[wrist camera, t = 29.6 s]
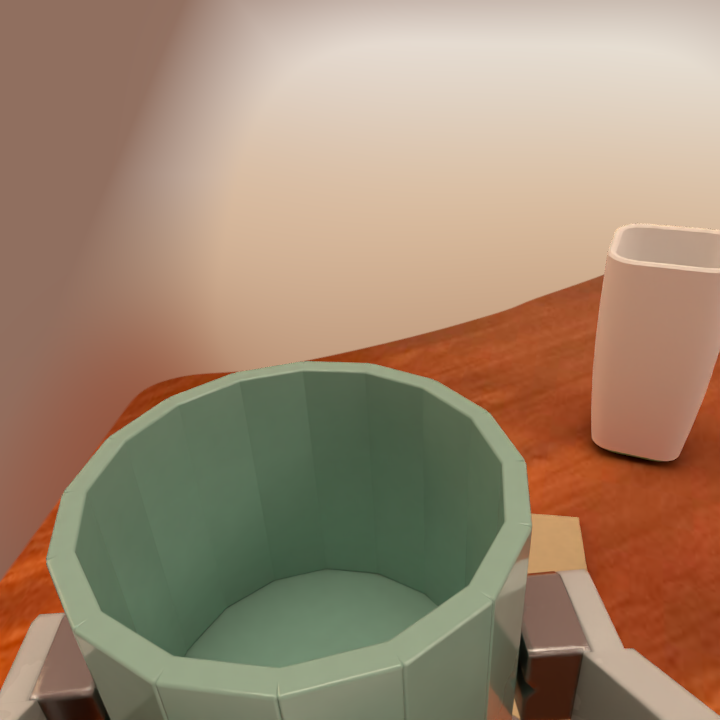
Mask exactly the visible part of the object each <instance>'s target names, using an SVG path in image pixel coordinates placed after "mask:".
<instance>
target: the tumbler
mask: <svg viewBox="0 0 720 720" xmlns="http://www.w3.org/2000/svg"><path fill="white" fill-rule="evenodd" d="M531 535H532V516H531V506H530V496H529V486H528V476H527V466H526V463H525V460H524V458H523V457H522V456H521V454H520V453H519V452H518V450H517V449H516V448H515V446H514V445H513V444H512V442H511V441H510V440H509V438H508V437H507V435H506V434H505V433H504V431H503V430H502V429H501V427H500V426H499V425H498V423H497V422H496V421H495V419H494V418H493V417H492V415H491V414H490V413H488V411H487V410H485V409H483V408H482V407H480V406H478V405H477V404H475V403H473V402H472V401H470V400H468V399H466V398H465V397H463V396H461V395H460V394H458V393H456V392H455V391H453V390H451V389H450V388H448V387H446V386H445V385H443V384H441V383H440V382H438V381H434V380H433V379H430V378H426V377H422V376H419V375H415V374H411V373H407V372H403V371H399V370H395V369H392V368H388V367H384V366H380V365H376V364H370V363H347V362H315V361H304V362H295V363H289V364H283V365H277V366H271V367H265V368H259V369H253V370H247V371H241V372H236V373H235V374H234V373H232V374H229V375H227V376H224V377H221V378H219V379H216V380H214V381H211V382H208V383H206V384H203V385H200V386H198V387H195V388H192V389H190V390H187V391H185V392H182V393H179V394H177V395H174V396H171V397H169V398H168V399H165V400H164V401H162V402H161V403H159V404H158V405H156V406H155V407H153V408H152V409H150V410H149V411H147V412H146V413H144V414H143V415H141V416H140V417H138V418H137V419H135V420H134V421H132V422H131V423H129V424H128V425H126V426H125V427H123V428H122V429H120V430H119V431H117V432H116V433H114V434H113V435H111V436H110V437H109V438H108V439H106V440H105V442H104V443H103V444H102V445H101V446H100V448H99V449H98V450H97V451H96V453H95V454H94V455H93V456H92V457H91V459H90V460H89V461H88V462H87V464H86V465H85V466H84V467H83V469H82V470H81V471H80V472H79V473H78V475H77V476H76V477H75V478H74V480H73V481H72V482H71V483H70V484H69V486H68V487H67V488H66V489H65V491H64V494H62V497H61V501H60V505H59V509H58V513H57V517H56V521H55V525H54V529H53V533H52V537H51V541H50V545H49V549H48V553H47V557H46V561H47V563H46V565H47V567H48V570H49V573H50V575H51V578H52V580H53V583H54V586H55V588H56V591H57V593H58V596H59V599H60V601H61V604H62V606H63V609H64V612H65V614H66V617H67V619H68V622H69V625H70V627H71V630H72V632H73V634H74V637H75V639H76V641H77V644H78V646H79V648H80V651H81V653H82V655H83V658H84V660H85V662H86V665H87V667H88V669H89V671H90V674H91V676H92V678H93V681H94V683H95V685H96V688H97V690H98V692H99V695H100V697H101V699H102V702H103V704H104V706H105V709H106V711H107V713H108V715H109V718H110V720H512V713H513V704H514V694H515V685H516V676H517V666H518V657H519V648H520V638H521V629H522V619H523V610H524V601H525V591H526V582H527V573H528V563H529V554H530V545H531Z"/></svg>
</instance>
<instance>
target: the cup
mask: <svg viewBox="0 0 720 720" xmlns="http://www.w3.org/2000/svg"><path fill="white" fill-rule="evenodd" d="M719 351H720V230H713V229H704V228H691V227H678V226H667V225H654V224H627V225H624V226H621V227H619V228H618V229H617V230H616V231H615V233H614V236H613V238H612V241H611V244H610V247H609V250H608V255H607V260H606V267H605V274H604V280H603V287H602V294H601V300H600V308H599V316H598V325H597V333H596V342H595V353H594V364H593V377H592V402H591V435H592V440H593V441H594V442H595V444H597V445H598V446H600V447H602V448H604V449H605V450H608V451H611V452H614V453H619V454H623V455H628V456H633V457H637V458H642V459H646V460H651V461H659V462H660V461H671V460H674V459H676V458H678V457H679V455H680V453H681V450H682V448H683V446H684V444H685V441H686V439H687V437H688V435H689V432H690V430H691V428H692V426H693V423H694V421H695V418H696V416H697V413H698V411H699V408H700V406H701V403H702V401H703V398H704V396H705V393H706V390H707V387H708V384H709V381H710V378H711V375H712V372H713V369H714V366H715V363H716V360H717V357H718V354H719Z"/></svg>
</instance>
